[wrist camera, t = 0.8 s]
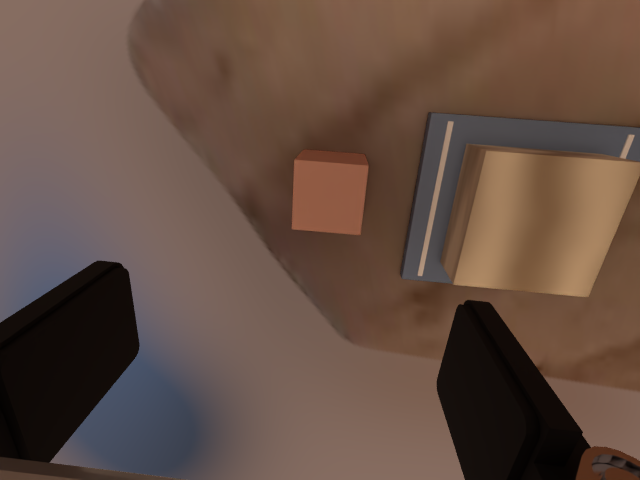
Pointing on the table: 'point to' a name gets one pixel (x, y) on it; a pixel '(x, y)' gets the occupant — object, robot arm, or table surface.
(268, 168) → the table surface
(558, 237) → the maple base block
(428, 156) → the board
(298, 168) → the terracotta block
